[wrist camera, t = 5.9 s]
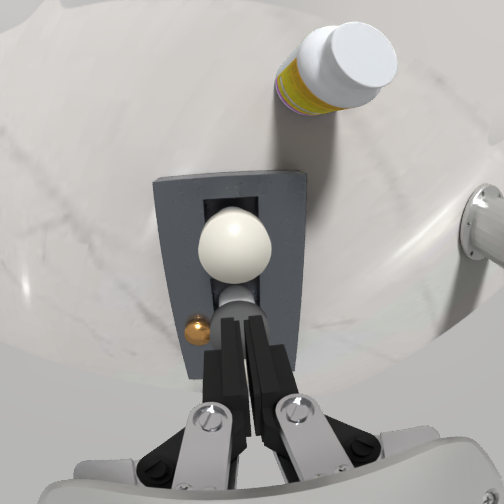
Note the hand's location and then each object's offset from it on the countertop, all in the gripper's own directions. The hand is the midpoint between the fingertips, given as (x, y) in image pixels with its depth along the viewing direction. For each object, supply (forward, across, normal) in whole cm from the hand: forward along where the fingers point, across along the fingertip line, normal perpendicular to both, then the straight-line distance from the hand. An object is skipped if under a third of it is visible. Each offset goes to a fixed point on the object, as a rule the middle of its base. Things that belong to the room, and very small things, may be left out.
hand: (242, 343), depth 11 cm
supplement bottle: (+19, -8, -14) cm, 25 cm away
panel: (+19, 0, +8) cm, 20 cm away
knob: (+15, 0, 0) cm, 15 cm away
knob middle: (+15, 0, +8) cm, 17 cm away
